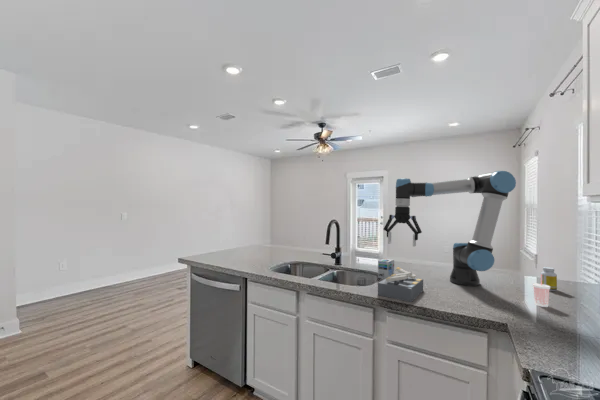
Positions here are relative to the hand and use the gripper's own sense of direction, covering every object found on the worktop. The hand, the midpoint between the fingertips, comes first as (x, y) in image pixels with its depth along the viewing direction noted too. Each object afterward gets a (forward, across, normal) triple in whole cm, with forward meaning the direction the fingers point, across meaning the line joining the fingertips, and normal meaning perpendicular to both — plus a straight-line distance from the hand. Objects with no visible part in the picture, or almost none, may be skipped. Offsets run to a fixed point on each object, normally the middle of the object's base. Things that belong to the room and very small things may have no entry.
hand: (401, 244), depth 156 cm
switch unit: (+23, +4, -11) cm, 26 cm away
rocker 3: (+14, +4, -4) cm, 15 cm away
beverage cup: (+22, +60, +12) cm, 65 cm away
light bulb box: (+23, -14, +13) cm, 30 cm away
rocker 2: (+14, +4, -11) cm, 19 cm away
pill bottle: (+22, +64, +47) cm, 82 cm away
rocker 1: (+14, +4, -18) cm, 23 cm away
